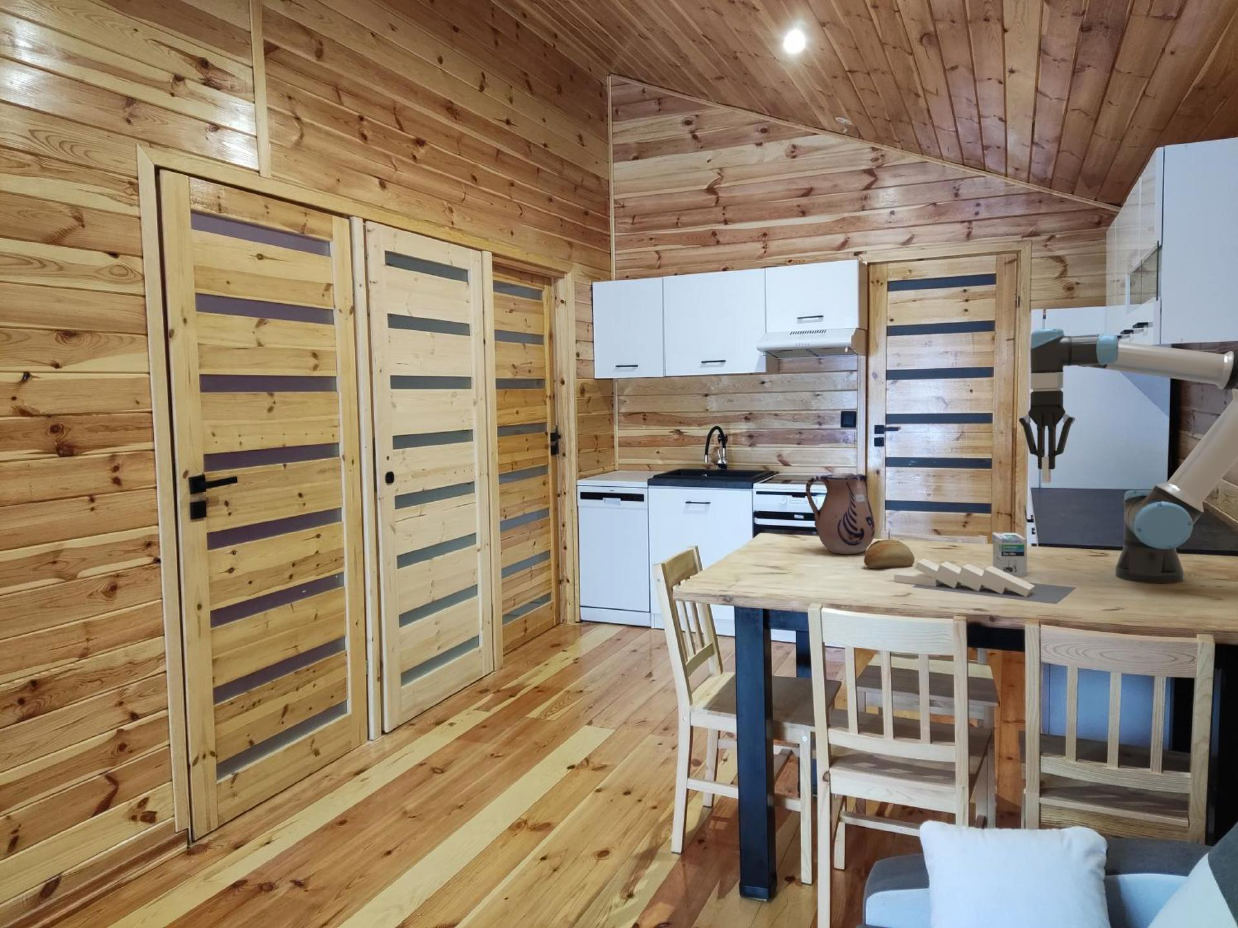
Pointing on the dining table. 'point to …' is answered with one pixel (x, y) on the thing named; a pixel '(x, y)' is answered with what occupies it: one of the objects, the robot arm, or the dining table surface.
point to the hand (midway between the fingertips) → (1046, 481)
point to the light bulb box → (1010, 553)
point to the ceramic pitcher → (843, 513)
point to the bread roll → (888, 554)
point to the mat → (1012, 592)
